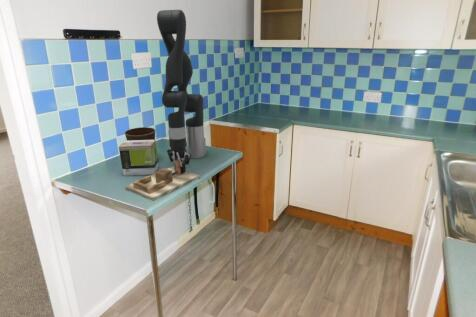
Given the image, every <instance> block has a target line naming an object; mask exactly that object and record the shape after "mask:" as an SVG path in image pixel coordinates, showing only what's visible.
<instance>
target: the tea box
mask: <svg viewBox="0 0 476 317" xmlns="http://www.w3.org/2000/svg"><path fill="white" fill-rule="evenodd" d="M118 150H119V156H120V164H121V169H122V174H123V175H122V176H151V175H154V174H155V172H157V171H159V157H158V149H157V140H156V139H155V140H127V139H126V140H124V141H123V142H122V143H121V144H120V145H119V146H118Z"/></svg>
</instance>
